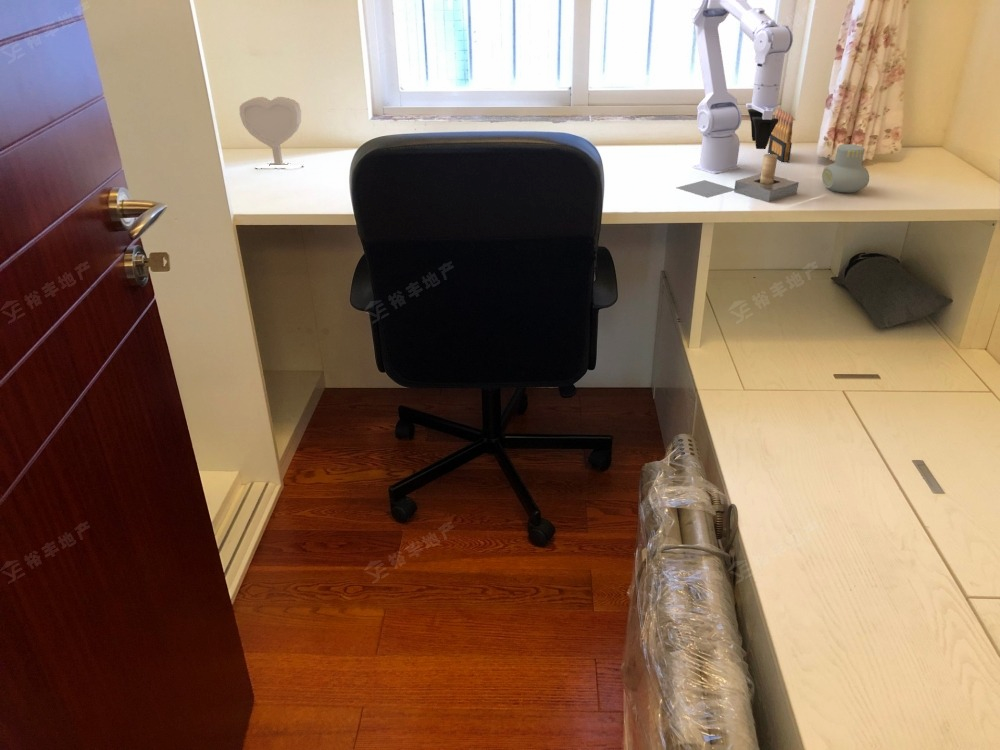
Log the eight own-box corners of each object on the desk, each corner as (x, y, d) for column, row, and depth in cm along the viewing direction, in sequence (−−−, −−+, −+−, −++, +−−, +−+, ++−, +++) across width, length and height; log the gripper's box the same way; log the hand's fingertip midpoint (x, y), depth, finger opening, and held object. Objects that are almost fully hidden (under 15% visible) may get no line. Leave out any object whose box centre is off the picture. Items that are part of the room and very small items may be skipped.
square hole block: (761, 185, 192) (763, 173, 190) (796, 195, 185) (798, 182, 183) (733, 193, 187) (735, 180, 186) (768, 203, 180) (770, 190, 178)
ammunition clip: (767, 152, 218) (774, 107, 212) (774, 152, 218) (780, 107, 212) (782, 162, 209) (789, 116, 203) (789, 162, 209) (796, 115, 203)
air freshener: (869, 196, 183) (878, 152, 178) (833, 197, 183) (841, 153, 178) (851, 182, 192) (860, 141, 187) (817, 183, 193) (825, 141, 188)
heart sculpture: (248, 169, 215) (235, 100, 206) (254, 164, 219) (243, 96, 210) (304, 169, 214) (294, 99, 205) (309, 164, 218) (299, 96, 209)
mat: (704, 181, 196) (704, 180, 196) (736, 190, 189) (736, 189, 189) (675, 188, 191) (675, 187, 191) (707, 198, 184) (707, 197, 184)
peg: (762, 191, 188) (768, 153, 183) (774, 194, 186) (780, 155, 181) (755, 194, 186) (761, 155, 182) (766, 197, 184) (772, 158, 180)
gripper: (745, 78, 187) (738, 136, 194) (752, 89, 174) (744, 152, 181) (776, 78, 186) (768, 137, 193) (785, 90, 173) (776, 152, 180)
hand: (758, 144), depth 187 cm, fingers open, 7 cm apart
